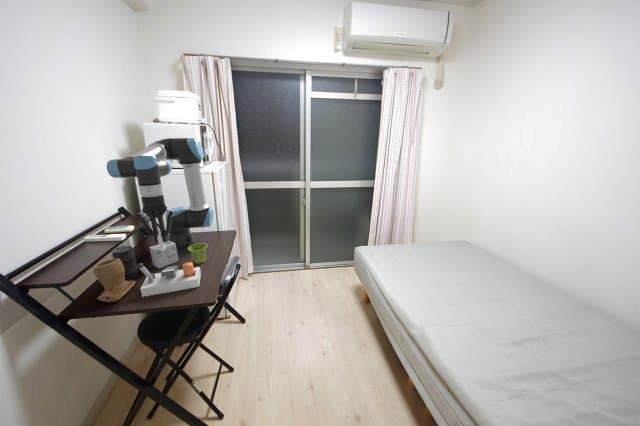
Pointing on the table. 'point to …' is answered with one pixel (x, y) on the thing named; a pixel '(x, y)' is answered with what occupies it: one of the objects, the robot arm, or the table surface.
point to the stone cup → (112, 280)
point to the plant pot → (198, 252)
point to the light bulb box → (164, 254)
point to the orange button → (188, 269)
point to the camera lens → (127, 261)
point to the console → (170, 283)
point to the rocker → (169, 271)
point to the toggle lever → (144, 270)
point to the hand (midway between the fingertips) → (162, 249)
